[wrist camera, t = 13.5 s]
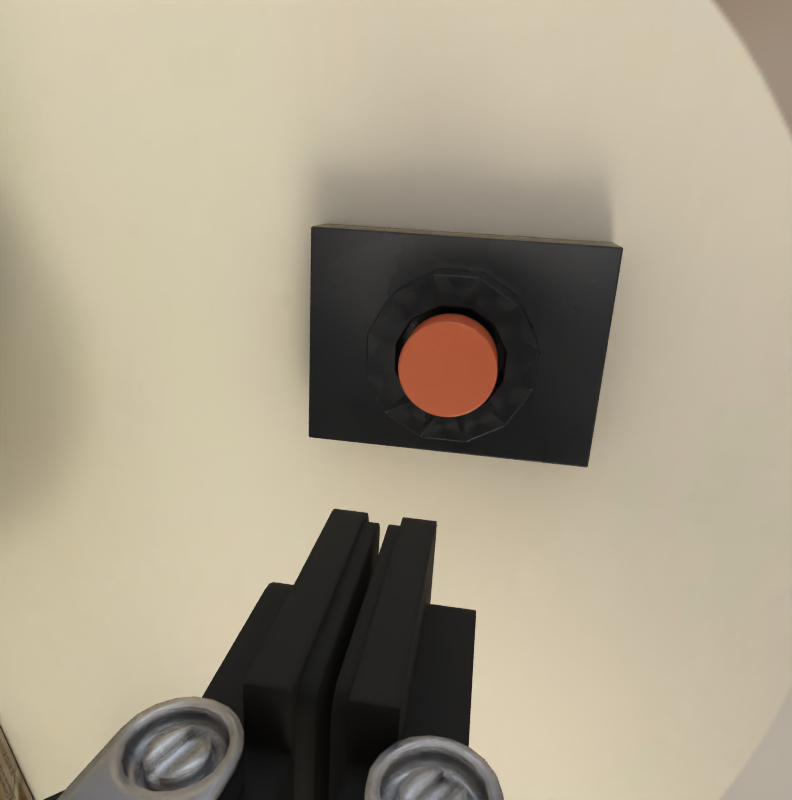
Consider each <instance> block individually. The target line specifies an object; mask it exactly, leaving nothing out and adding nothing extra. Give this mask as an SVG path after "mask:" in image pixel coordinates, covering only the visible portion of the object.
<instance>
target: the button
mask: <svg viewBox="0 0 792 800" xmlns="http://www.w3.org/2000/svg"><path fill="white" fill-rule="evenodd" d="M497 369H498V356H497V349H496V345H495V343H494V340H493V338H492V337H491V335H490V333H489V332H488V331H487V329H486V328H485V327H484V326H483V325H481V324H480V323H479V322H478V321H476V320H474V319H473V318H470V317H468V316H465V315H462V314H456V313H444V314H439V315H435V316H432V317H430V318H428V319H426V320H425V321H423V322H422V323H420V324H419V325H418V326H417V327H416V328H415V329H414V331H413V332H412V333H411V335H410V336H409V338H408V340H407V341H406V343H405V345H404V347H403V348H402V351H401V353H400V357H399V362H398V374H399V380H400V383H401V386H402V388H403V390H404V392H405V394H406V395H407V396H408V398H409V399H410V400H411V401H412V402H413V403H414V404H415V405H416V406H417V407H419V408H420V409H422V410H424V411H425V412H428V413H430V414H433V415H436V416H442V417H456V416H461V415H464V414H467V413H470V412H472V411H474V410H475V409H477V408H478V407H480V406H481V405H482V404H483V403H484V402H485V401H486V400H487V399H488V397H489V396H490V394H491V393H492V391H493V389H494V386H495V383H496V379H497Z"/></svg>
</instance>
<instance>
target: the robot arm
mask: <svg viewBox="0 0 792 800" xmlns="http://www.w3.org/2000/svg"><path fill="white" fill-rule="evenodd" d="M436 527H437V521H429V520H421V519H413V518H405V517H403V519H402V522H401V525H400V526H397V525H389V526H388V528H387V531H386V534H385V537H384V540H383V543H382V546H381V549H380V552H379V536H380V525H379V523H373V522H369V518H368V513H364V512H356V511H348V510H340V509H334V510H333V511H332V513H331V514H330V516H329V518H328V520H327V522H326V524H325V526H324V528H323V530H322V532H321V534H320V536H319V538H318V539H317V541H316V543H315V545H314V547H313V549H312V551H311V553H310V555H309V557H308V559H307V561H306V563H305V565H304V566H303V568H302V570H301V572H300V574H299V576H298V578H297V580H296V582H295V584H294V585H290V584H282V583H275V582H273V583H270V584H269V585H268V586H267V588H266V589H265V590H264V592H263V594H262V596H261V597H260V599H259V601H258V602H257V604H256V606H255V608H254V609H253V611H252V613H251V614H250V616H249V618H248V619H247V621H246V623H245V625H244V626H243V628H242V630H241V631H240V633H239V635H238V637H237V638H236V640H235V642H234V643H233V645H232V647H231V649H230V650H229V652H228V654H227V655H226V657H225V659H224V661H223V662H222V664H221V666H220V667H219V669H218V671H217V672H216V674H215V676H214V678H213V679H212V681H211V683H210V684H209V686H208V688H207V690H206V691H205V693H204V695H203V696H202V698H201V697H185V698H175V699H172V700H168V701H165V702H162V703H158V704H155V705H154V706H152V707H150V708H148V709H146V710H144V711H142V712H141V713H139V714H137V715H136V716H135V717H134V718H132V719H131V720H130V721H129V722H128V723H127V724H126V725H124V726H123V727H122V728H121V729H120V730H119V731H118V732H117V734H116V735H115V736H114V737H113V738H112V739H111V740H110V741H109V742H108V743H107V745H106V746H105V747H104V748H103V749H102V750H101V751H100V752H99V753H98V754H97V756H96V757H95V758H94V759H93V760H92V761H91V762H90V763H89V764H88V765H87V767H86V768H85V769H84V770H83V771H82V772H81V773H80V774H79V775H78V776H77V778H76V779H75V780H74V781H73V782H72V783H71V784H70V785H69V786H68V787H67V789H66V790H64V791H62V792H59V793H57V794H55V795H53V796H50V797H48V798H46V799H44V800H504V798H503V793H502V790H501V787H500V784H499V781H498V778H497V776H496V774H495V773H494V771H493V770H492V769H491V767H490V766H489V765H488V763H487V762H486V760H485V759H484V758H482V757H481V756H480V755H479V754H477V753H476V752H475V751H473V750H472V749H471V748H470V747H469V729H470V711H471V693H472V676H473V658H474V640H475V622H476V610H469V609H462V608H455V607H448V606H441V605H434V604H430V600H431V588H432V576H433V564H434V552H435V540H436Z"/></svg>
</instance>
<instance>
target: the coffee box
mask: <svg viewBox="0 0 792 800" xmlns="http://www.w3.org/2000/svg"><path fill="white" fill-rule="evenodd" d="M0 800H33V799H32V797H31V795H30V793H29V790H28V788H27V786H26V784H25V782H24V780H23V777H22V775H21V773H20V771H19V769H18V766H17V764H16V762H15V760H14V757H13V755H12V753H11V751H10V748H9V746H8V744H7V742H6V740H5V737H4V735H3V733H2V731H1V729H0Z"/></svg>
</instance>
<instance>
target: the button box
mask: <svg viewBox="0 0 792 800" xmlns="http://www.w3.org/2000/svg"><path fill="white" fill-rule="evenodd" d="M622 252H623V248H622V247H620V246H618V245H616V244H614V243H609V242H594V241H579V240H564V239H549V238H534V237H519V236H504V235H489V234H473V233H458V232H443V231H428V230H413V229H398V228H383V227H368V226H353V225H338V224H322V225H318V226H313V227H312V228H311V293H310V375H309V437H313V438H322V439H331V440H341V441H350V442H359V443H368V444H377V445H386V446H396V447H405V448H414V449H423V450H432V451H442V452H451V453H460V454H469V455H478V456H487V457H497V458H506V459H515V460H524V461H533V462H542V463H552V464H561V465H570V466H579V467H588V462H589V456H590V450H591V444H592V438H593V431H594V425H595V419H596V413H597V407H598V401H599V394H600V388H601V382H602V376H603V370H604V363H605V357H606V351H607V345H608V339H609V333H610V326H611V320H612V314H613V308H614V302H615V296H616V289H617V283H618V277H619V271H620V265H621V258H622ZM444 313H456V314H462V315H465V316H468V317H470V318H473V319H474V320H476V321H478V322H479V323H480V324H481V325H483V326H484V327H485V328H486V329H487V331H488V332H489V333H490V335H491V337H492V338H493V340H494V343H495V345H496V349H497V356H498V369H497V379H496V383H495V386H494V389H493V391H492V393H491V394H490V396H489V397H488V399H487V400H486V401H485V402H484V403H483V404H482V405H481V406H480V407H478V408H477V409H475V410H474V411H472V412H470V413H467V414H464V415H461V416H456V417H442V416H436V415H433V414H430V413H428V412H425V411H424V410H422V409H420V408H419V407H417V406H416V405H415V404H414V403H413V402H412V401H411V400H410V399H409V398H408V396H407V395H406V394H405V392H404V390H403V388H402V386H401V383H400V380H399V374H398V362H399V357H400V353H401V351H402V348H403V347H404V345H405V343H406V341H407V340H408V338H409V336H410V335H411V333H412V332H413V331H414V329H415V328H416V327H417V326H418V325H419V324H420V323H422V322H423V321H425V320H426V319H428V318H430V317H432V316H435V315H439V314H444Z"/></svg>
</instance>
